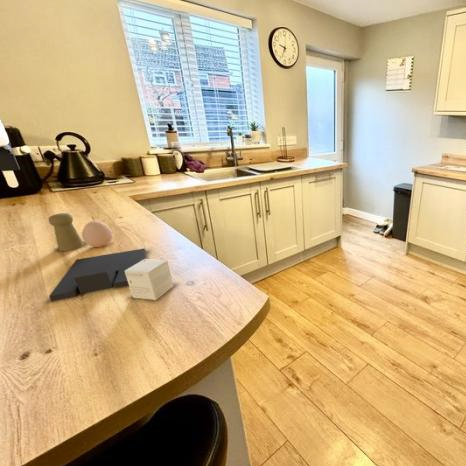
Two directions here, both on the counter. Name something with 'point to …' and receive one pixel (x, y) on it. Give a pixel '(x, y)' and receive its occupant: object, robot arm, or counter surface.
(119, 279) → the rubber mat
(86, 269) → the foam pad
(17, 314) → the counter surface
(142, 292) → the product box
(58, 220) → the olive pepper mill
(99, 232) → the egg
